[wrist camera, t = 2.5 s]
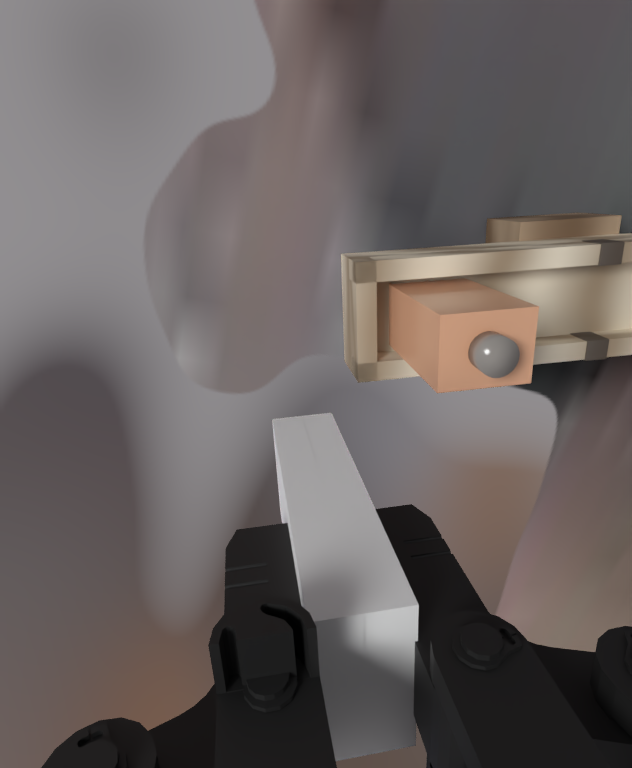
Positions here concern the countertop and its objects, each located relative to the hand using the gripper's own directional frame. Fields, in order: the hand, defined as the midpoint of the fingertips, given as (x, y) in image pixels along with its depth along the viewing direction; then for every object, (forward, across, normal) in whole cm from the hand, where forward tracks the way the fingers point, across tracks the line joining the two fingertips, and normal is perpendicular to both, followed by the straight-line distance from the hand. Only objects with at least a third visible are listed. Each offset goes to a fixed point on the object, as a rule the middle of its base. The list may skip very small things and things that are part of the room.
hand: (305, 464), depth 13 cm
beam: (+20, +17, 0) cm, 26 cm away
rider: (+14, +8, 0) cm, 16 cm away
